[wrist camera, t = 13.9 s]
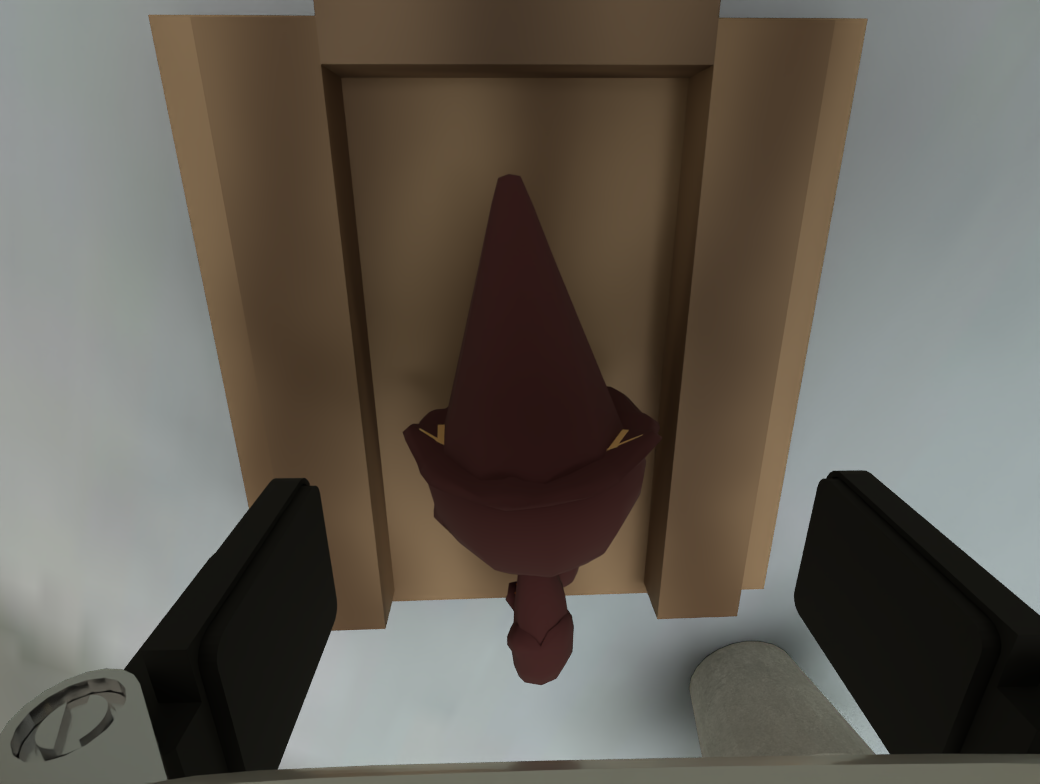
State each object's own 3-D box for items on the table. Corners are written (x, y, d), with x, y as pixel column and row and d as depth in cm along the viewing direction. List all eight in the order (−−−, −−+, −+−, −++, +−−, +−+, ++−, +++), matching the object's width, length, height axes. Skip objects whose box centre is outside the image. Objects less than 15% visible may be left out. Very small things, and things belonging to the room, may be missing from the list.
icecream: (288, 205, 11) (415, 701, 18) (675, 179, 9) (657, 736, 16) (415, 170, 17) (475, 549, 24) (665, 151, 16) (655, 563, 22)
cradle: (837, 31, 17) (916, -3, 14) (748, 565, 24) (787, 624, 21) (177, 28, 17) (99, -9, 13) (282, 580, 24) (248, 644, 20)
